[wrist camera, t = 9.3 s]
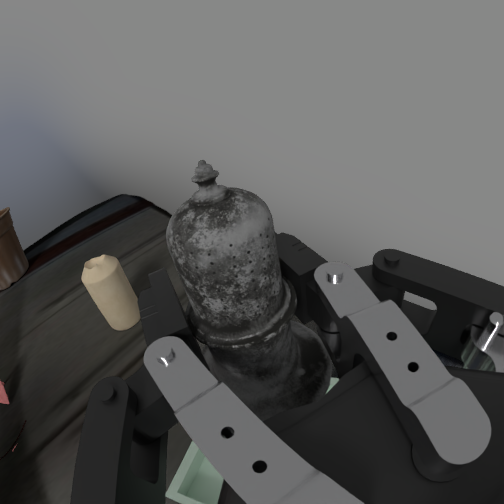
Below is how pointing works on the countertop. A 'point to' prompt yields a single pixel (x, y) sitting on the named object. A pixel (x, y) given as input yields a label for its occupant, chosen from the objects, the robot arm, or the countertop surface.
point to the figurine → (2, 397)
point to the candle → (111, 292)
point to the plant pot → (10, 252)
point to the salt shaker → (244, 299)
